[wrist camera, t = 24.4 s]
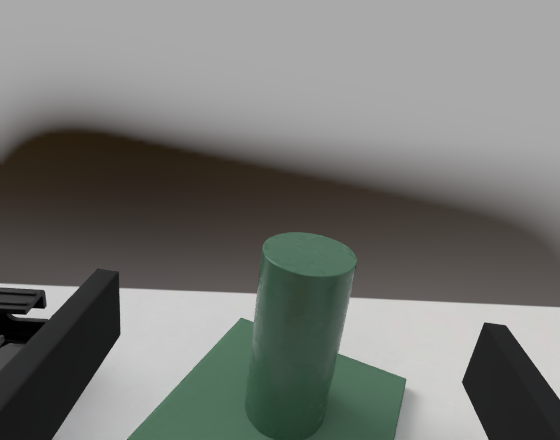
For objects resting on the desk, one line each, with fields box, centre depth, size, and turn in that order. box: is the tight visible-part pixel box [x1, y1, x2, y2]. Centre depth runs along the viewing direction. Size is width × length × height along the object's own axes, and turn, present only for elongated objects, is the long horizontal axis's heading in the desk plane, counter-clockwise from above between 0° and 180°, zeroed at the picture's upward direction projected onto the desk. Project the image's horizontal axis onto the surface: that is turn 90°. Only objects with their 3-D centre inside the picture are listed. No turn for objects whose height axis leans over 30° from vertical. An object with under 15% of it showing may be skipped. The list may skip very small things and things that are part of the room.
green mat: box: [127, 318, 406, 440], centre depth 31 cm, size 16×16×1 cm
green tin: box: [245, 232, 357, 440], centre depth 29 cm, size 6×6×13 cm
